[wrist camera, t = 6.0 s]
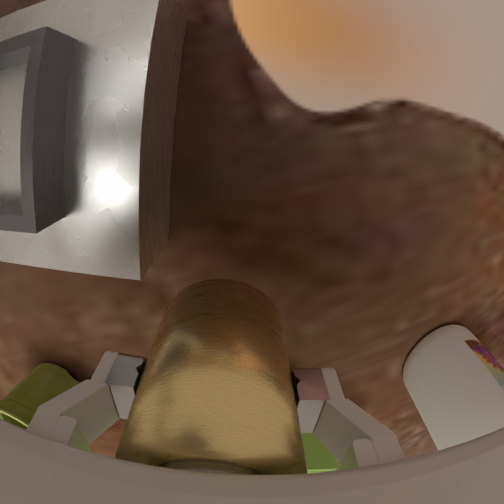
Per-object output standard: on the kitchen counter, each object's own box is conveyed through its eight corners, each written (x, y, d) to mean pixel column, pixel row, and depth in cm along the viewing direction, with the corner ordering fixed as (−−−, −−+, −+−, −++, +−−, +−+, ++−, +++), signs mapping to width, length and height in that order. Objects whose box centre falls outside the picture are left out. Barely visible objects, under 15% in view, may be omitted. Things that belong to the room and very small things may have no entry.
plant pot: (12, 338, 23) (-35, 394, 15) (89, 356, 23) (48, 430, 15) (40, 404, 26) (10, 459, 18) (112, 423, 26) (89, 489, 18)
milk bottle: (402, 398, 26) (473, 570, 7) (397, 343, 23) (506, 557, 4) (466, 366, 25) (558, 512, 6) (471, 308, 22) (605, 471, 3)
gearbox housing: (-5, 54, 14) (-81, 45, 6) (187, 18, 15) (148, -49, 7) (-9, 224, 19) (-80, 264, 11) (169, 238, 20) (122, 307, 12)
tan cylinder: (160, 273, 12) (85, 434, 5) (290, 283, 12) (335, 455, 5) (167, 369, 14) (132, 513, 7) (274, 377, 14) (289, 525, 7)
